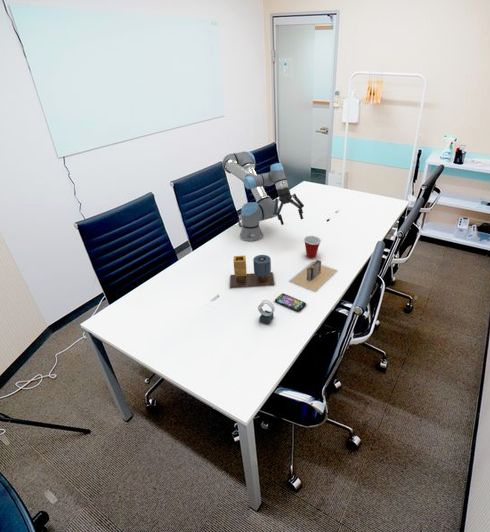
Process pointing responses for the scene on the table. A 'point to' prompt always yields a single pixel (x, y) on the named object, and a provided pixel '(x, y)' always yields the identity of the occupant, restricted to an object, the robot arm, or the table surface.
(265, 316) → the watch
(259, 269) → the blue ring
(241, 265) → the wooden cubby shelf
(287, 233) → the table surface
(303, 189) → the table surface
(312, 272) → the architectural model on board
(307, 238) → the plastic cup
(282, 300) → the smartphone
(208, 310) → the table surface
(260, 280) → the peg stand
